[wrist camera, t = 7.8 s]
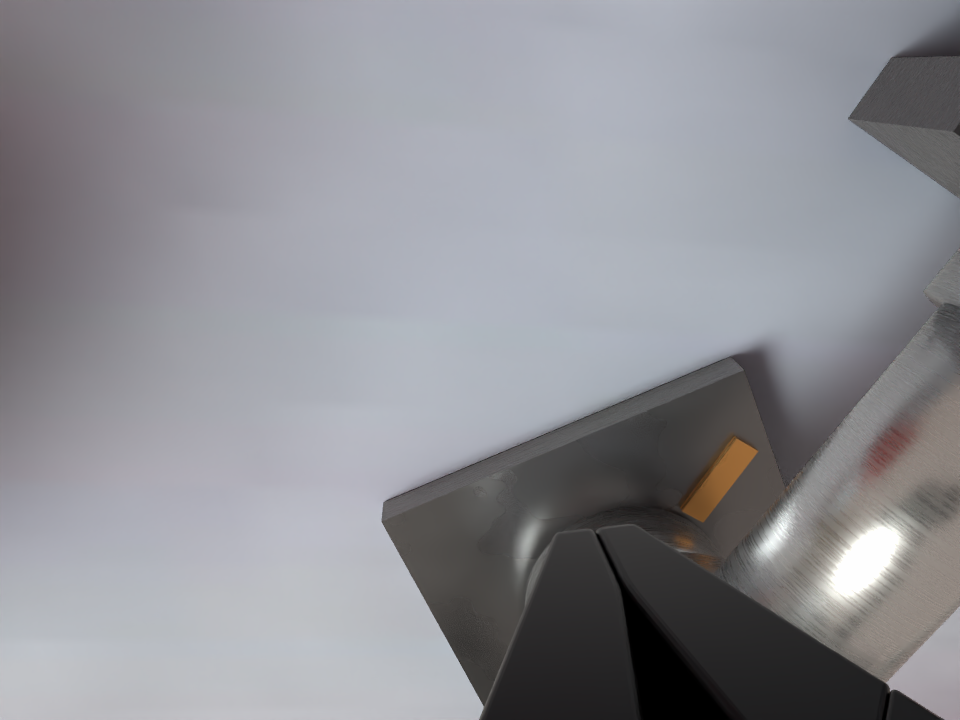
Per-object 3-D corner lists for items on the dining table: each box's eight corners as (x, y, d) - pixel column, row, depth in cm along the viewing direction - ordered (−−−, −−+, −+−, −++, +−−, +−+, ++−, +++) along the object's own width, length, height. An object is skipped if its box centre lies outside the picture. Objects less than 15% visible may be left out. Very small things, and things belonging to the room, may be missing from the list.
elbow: (681, 833, 21) (741, 1018, 17) (446, 721, 20) (450, 894, 16) (1118, 366, 18) (1330, 458, 13) (872, 178, 16) (1027, 217, 12)
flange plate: (831, 642, 25) (902, 745, 21) (524, 760, 26) (540, 879, 22) (730, 356, 21) (793, 418, 18) (383, 502, 22) (373, 590, 19)
